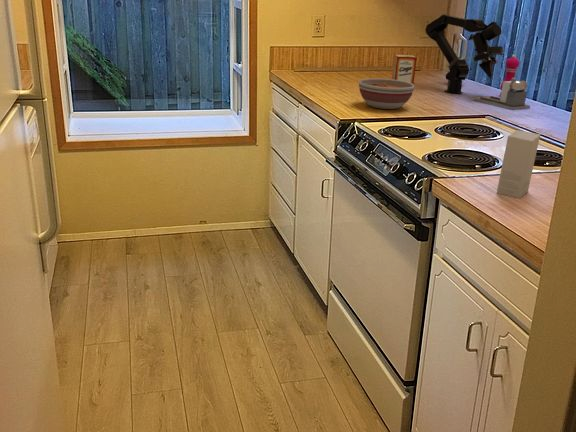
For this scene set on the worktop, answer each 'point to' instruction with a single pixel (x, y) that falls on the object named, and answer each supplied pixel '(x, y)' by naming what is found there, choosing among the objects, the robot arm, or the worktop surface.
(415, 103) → the worktop surface
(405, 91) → the bowl
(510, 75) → the pepper mill
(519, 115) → the worktop surface
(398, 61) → the orange white cardboard box
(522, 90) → the base
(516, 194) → the skincare box
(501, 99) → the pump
